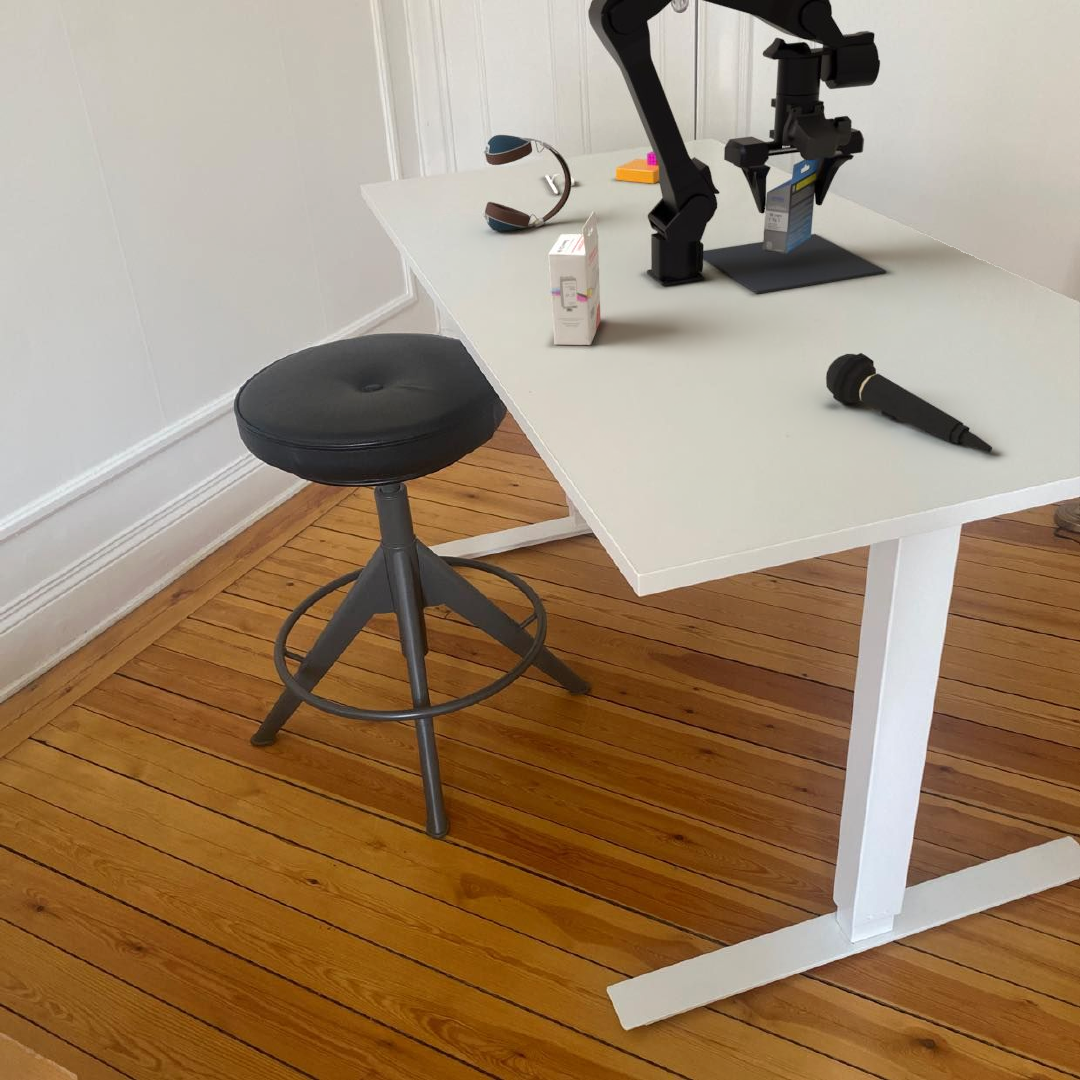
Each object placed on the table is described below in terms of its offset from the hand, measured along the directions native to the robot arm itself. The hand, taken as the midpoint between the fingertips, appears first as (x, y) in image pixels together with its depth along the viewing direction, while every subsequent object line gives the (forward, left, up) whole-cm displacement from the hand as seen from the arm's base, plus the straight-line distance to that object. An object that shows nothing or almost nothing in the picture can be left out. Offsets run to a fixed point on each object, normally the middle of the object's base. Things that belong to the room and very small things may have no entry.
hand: (790, 208), depth 158 cm
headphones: (-32, +36, -8) cm, 49 cm away
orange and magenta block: (+1, +58, -8) cm, 59 cm away
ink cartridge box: (-37, -14, -8) cm, 40 cm away
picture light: (-15, +60, -8) cm, 63 cm away
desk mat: (0, 0, -8) cm, 8 cm away
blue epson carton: (0, 0, -5) cm, 5 cm away
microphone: (-15, -53, -8) cm, 55 cm away
